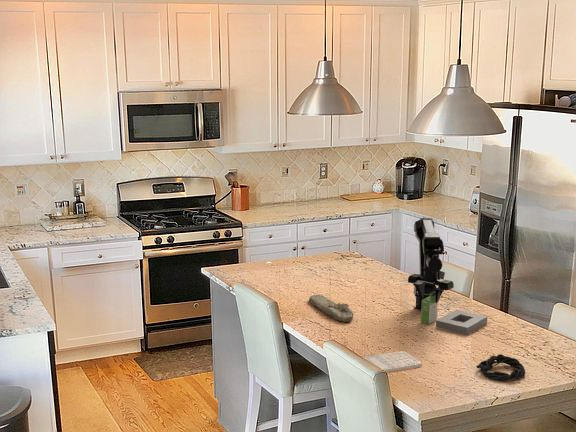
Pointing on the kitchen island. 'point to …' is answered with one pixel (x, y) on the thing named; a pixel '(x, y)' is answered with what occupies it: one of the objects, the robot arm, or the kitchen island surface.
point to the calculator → (394, 361)
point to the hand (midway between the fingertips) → (429, 301)
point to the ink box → (429, 309)
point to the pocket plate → (461, 322)
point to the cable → (496, 375)
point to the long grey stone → (332, 308)
